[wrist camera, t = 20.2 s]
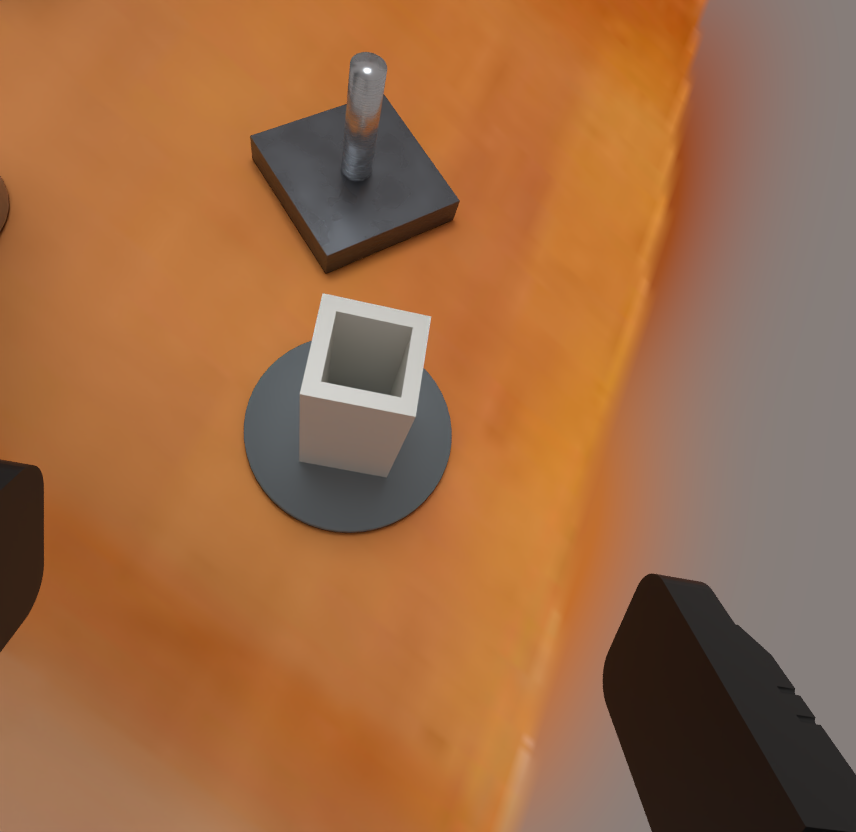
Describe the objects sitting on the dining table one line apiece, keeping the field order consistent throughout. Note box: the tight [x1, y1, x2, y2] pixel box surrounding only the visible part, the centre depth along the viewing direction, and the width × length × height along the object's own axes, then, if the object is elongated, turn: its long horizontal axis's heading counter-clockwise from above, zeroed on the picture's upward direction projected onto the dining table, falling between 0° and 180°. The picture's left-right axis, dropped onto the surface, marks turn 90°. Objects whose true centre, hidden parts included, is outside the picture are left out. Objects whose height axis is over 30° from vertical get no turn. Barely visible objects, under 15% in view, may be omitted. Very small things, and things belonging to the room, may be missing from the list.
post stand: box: [250, 52, 459, 273], centre depth 40 cm, size 10×10×10 cm
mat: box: [244, 341, 451, 533], centre depth 38 cm, size 12×12×1 cm
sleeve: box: [299, 293, 431, 477], centre depth 33 cm, size 5×5×10 cm
